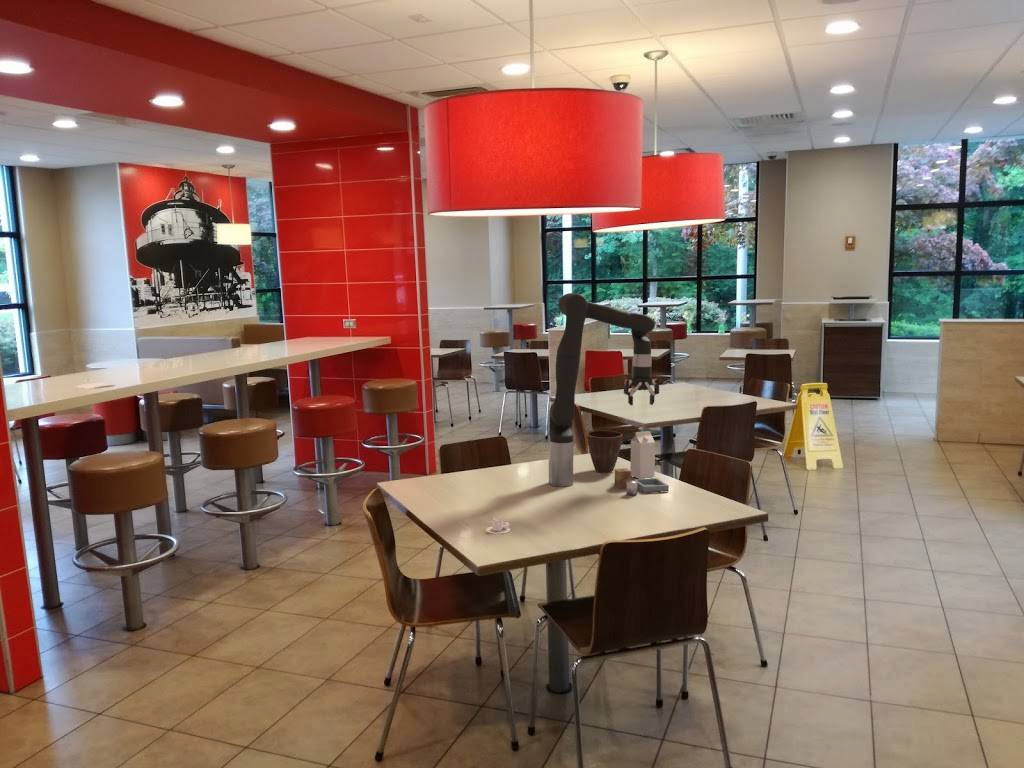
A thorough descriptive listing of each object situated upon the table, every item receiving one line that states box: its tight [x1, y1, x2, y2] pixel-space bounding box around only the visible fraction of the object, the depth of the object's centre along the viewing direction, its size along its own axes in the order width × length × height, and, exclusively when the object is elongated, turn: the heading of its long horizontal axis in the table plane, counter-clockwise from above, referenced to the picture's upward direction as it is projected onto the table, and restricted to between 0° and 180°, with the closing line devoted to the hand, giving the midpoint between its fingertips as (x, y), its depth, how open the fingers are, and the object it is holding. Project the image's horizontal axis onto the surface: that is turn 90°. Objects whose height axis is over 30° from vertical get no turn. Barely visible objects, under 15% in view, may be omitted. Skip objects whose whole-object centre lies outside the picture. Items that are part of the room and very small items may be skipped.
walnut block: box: [614, 467, 632, 490], centre depth 321 cm, size 5×5×7 cm
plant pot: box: [586, 430, 623, 474], centre depth 348 cm, size 15×15×16 cm
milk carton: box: [629, 430, 656, 479], centre depth 336 cm, size 7×7×19 cm
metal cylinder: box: [625, 479, 638, 497], centre depth 310 cm, size 4×4×5 cm
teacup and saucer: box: [485, 517, 511, 535], centre depth 267 cm, size 9×8×4 cm
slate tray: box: [632, 477, 670, 494], centre depth 319 cm, size 10×12×2 cm
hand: (641, 404), depth 333 cm, fingers open, 8 cm apart
